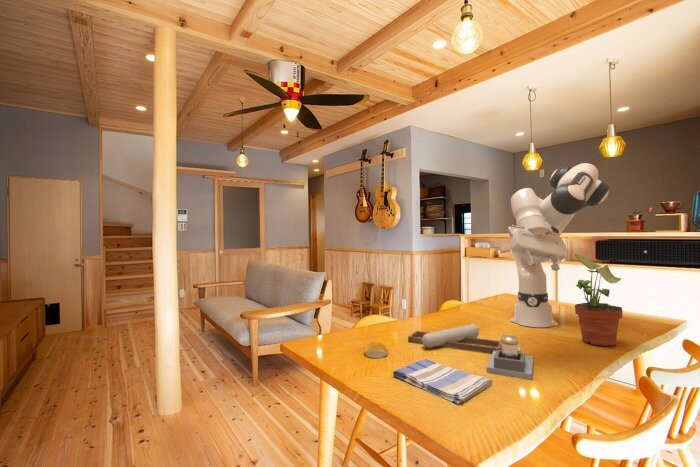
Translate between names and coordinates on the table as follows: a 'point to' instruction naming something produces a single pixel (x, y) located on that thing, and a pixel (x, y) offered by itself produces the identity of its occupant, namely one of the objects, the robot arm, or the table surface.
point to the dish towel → (443, 380)
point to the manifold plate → (511, 365)
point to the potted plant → (597, 309)
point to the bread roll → (376, 350)
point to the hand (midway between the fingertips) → (544, 267)
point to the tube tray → (485, 349)
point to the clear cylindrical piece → (509, 347)
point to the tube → (449, 335)
